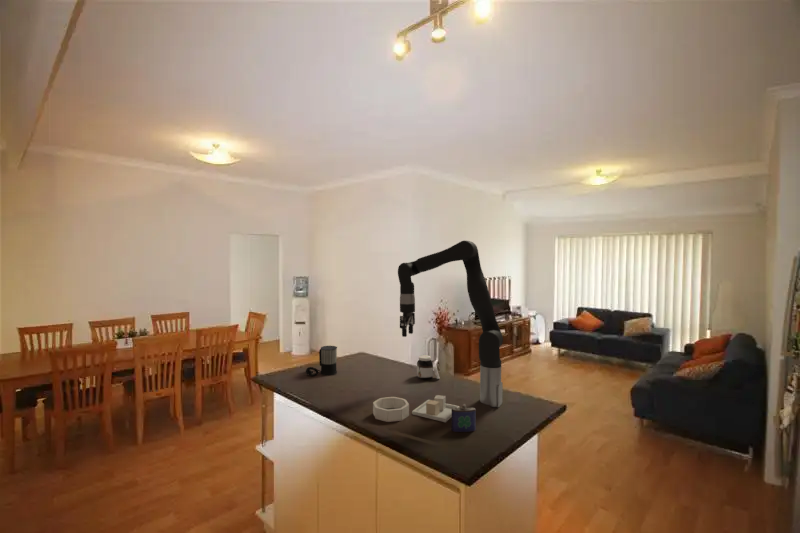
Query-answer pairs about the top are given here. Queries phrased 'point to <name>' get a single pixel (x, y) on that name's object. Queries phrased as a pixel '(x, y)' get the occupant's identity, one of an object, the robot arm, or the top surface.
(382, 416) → the bowl
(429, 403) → the cream wooden brick
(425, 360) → the spread jar
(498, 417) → the top surface
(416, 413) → the tray
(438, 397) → the pebble grey
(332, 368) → the milk frother
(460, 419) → the flask
